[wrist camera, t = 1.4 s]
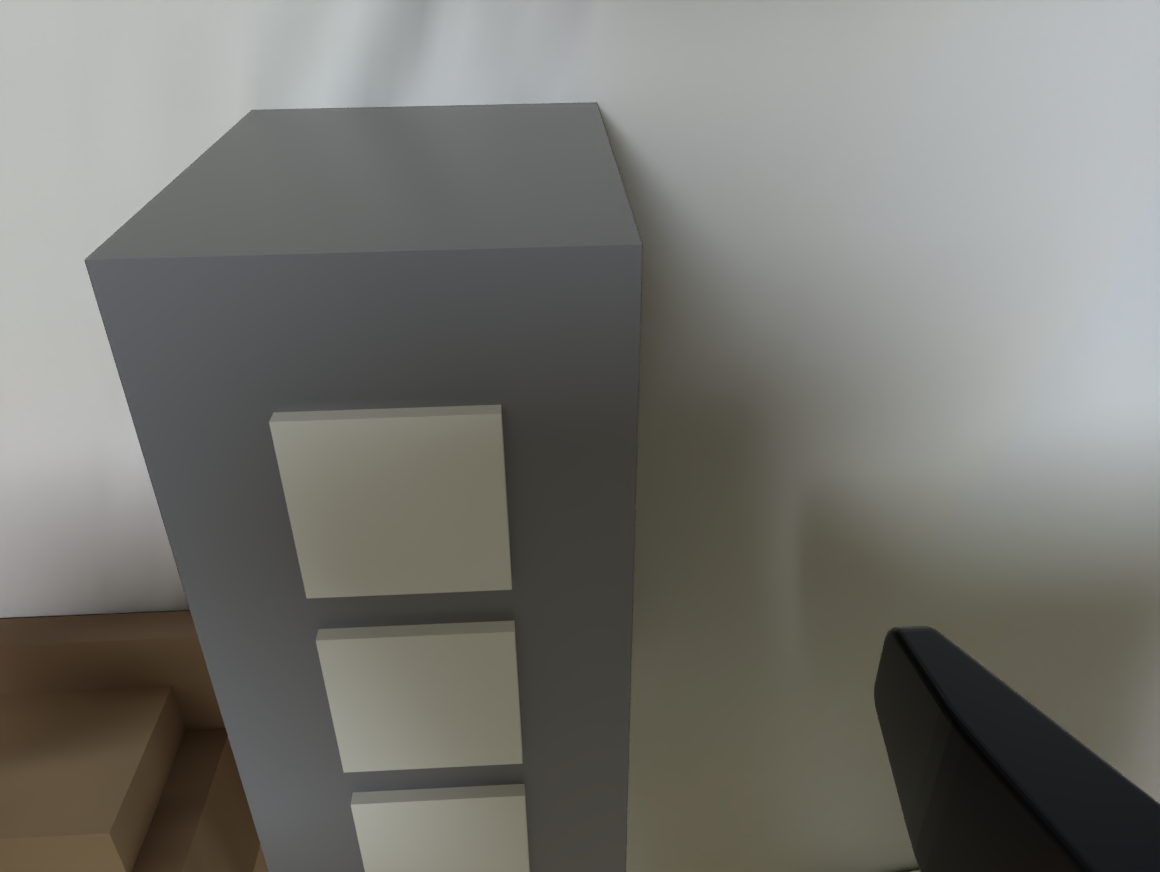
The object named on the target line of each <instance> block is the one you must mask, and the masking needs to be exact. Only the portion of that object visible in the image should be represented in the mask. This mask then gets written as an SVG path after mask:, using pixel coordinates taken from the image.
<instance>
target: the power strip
mask: <svg viewBox="0 0 1160 872" xmlns="http://www.w3.org/2000/svg"><path fill="white" fill-rule="evenodd" d="M85 264H86V267H87V270H88V274H89V277H90V280H91V284H92V287H93V290H94V294H95V297H96V300H97V303H98V307H99V310H100V313H101V317H102V320H103V323H104V327H105V330H106V333H107V337H108V340H109V343H110V347H111V350H112V353H113V357H114V360H115V363H116V367H117V370H118V373H119V376H120V380H121V383H122V386H123V390H124V393H125V396H126V400H127V403H128V406H129V410H130V413H131V416H132V420H133V423H134V426H135V430H136V433H137V436H138V440H139V443H140V446H141V449H142V453H143V456H144V459H145V463H146V466H147V469H148V473H149V476H150V479H151V483H152V486H153V489H154V493H155V496H156V499H157V503H158V506H159V509H160V512H161V516H162V519H163V522H164V526H165V529H166V532H167V536H168V539H169V542H170V546H171V549H172V552H173V556H174V559H175V562H176V566H177V569H178V572H179V576H180V579H181V582H182V585H183V589H184V592H185V595H186V599H187V602H188V605H189V609H190V612H191V615H192V619H193V622H194V625H195V629H196V632H197V635H198V639H199V642H200V645H201V649H202V652H203V655H204V658H205V662H206V665H207V668H208V672H209V675H210V678H211V682H212V685H213V688H214V692H215V695H216V698H217V702H218V705H219V708H220V712H221V715H222V718H223V722H224V725H225V728H226V731H227V735H228V738H229V741H230V745H231V748H232V751H233V755H234V758H235V761H236V765H237V768H238V771H239V775H240V778H241V781H242V785H243V788H244V791H245V794H246V798H247V801H248V804H249V808H250V811H251V814H252V818H253V821H254V824H255V828H256V831H257V834H258V838H259V841H260V844H261V848H262V851H263V854H264V858H265V861H266V864H267V867H268V871H269V872H626V844H627V806H628V769H629V731H630V693H631V656H632V618H633V580H634V543H635V505H636V467H637V430H638V392H639V354H640V317H641V279H642V242H641V239H640V235H639V232H638V229H637V226H636V223H635V220H634V217H633V214H632V211H631V208H630V204H629V201H628V198H627V195H626V192H625V189H624V186H623V183H622V180H621V177H620V174H619V170H618V167H617V164H616V161H615V158H614V155H613V152H612V149H611V146H610V143H609V139H608V136H607V133H606V130H605V127H604V124H603V121H602V118H601V115H600V112H599V109H598V105H597V102H596V103H550V104H504V105H457V106H411V107H365V108H319V109H273V110H251V111H250V112H249V113H248V114H247V115H246V116H245V117H243V118H242V119H241V120H240V121H239V122H238V123H237V124H236V125H235V126H233V127H232V128H231V129H230V130H229V131H228V132H227V133H226V134H224V135H223V136H222V137H221V138H220V139H219V140H218V141H217V142H216V143H214V144H213V145H212V146H211V147H210V148H209V149H208V150H207V151H205V152H204V153H203V154H202V155H201V156H200V157H199V158H198V159H197V160H195V161H194V162H193V163H192V164H191V165H190V166H189V167H188V168H187V169H185V170H184V171H183V172H182V173H181V174H180V175H179V176H178V177H176V178H175V179H174V180H173V181H172V182H171V183H170V184H169V185H168V186H166V187H165V188H164V189H163V190H162V191H161V192H160V193H159V194H158V195H156V196H155V197H154V198H153V199H152V200H151V201H150V202H149V203H147V204H146V205H145V206H144V207H143V208H142V209H141V210H140V211H139V212H137V213H136V214H135V215H134V216H133V217H132V218H131V219H130V220H128V221H127V222H126V223H125V224H124V225H123V226H122V227H121V228H120V229H118V230H117V231H116V232H115V233H114V234H113V235H112V236H111V237H110V238H108V239H107V240H106V241H105V242H104V243H103V244H102V245H101V246H99V247H98V248H97V249H96V250H95V251H94V252H93V253H92V254H91V255H89V256H88V257H87V258H86V259H85Z"/></svg>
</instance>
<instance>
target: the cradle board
mask: <svg viewBox="0 0 1160 872" xmlns="http://www.w3.org/2000/svg"><path fill="white" fill-rule="evenodd" d="M0 872H269V871H268V867H267V864H266V861H265V858H264V854H263V851H262V848H261V844H260V841H259V838H258V834H257V831H256V828H255V824H254V821H253V818H252V814H251V811H250V808H249V804H248V801H247V798H246V794H245V791H244V788H243V785H242V781H241V778H240V775H239V771H238V768H237V765H236V761H235V758H234V755H233V751H232V748H231V745H230V741H229V738H228V735H227V731H226V728H225V725H224V722H223V718H222V715H221V712H220V708H219V705H218V702H217V698H216V695H215V692H214V688H213V685H212V682H211V678H210V675H209V672H208V668H207V665H206V662H205V658H204V655H203V652H202V649H201V645H200V642H199V639H198V635H197V632H196V629H195V625H194V622H193V619H192V615H191V612H190V611H174V612H151V613H128V614H105V615H82V616H59V617H36V618H12V619H0Z"/></svg>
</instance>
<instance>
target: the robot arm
mask: <svg viewBox="0 0 1160 872" xmlns="http://www.w3.org/2000/svg"><path fill="white" fill-rule="evenodd" d="M874 699H875V707H876V711H877V715H878V719H879V723H880V727H881V730H882V734H883V738H884V742H885V746H886V750H887V753H888V757H889V761H890V765H891V769H892V773H893V777H894V780H895V784H896V788H897V792H898V796H899V800H900V803H901V807H902V811H903V815H904V819H905V823H906V826H907V830H908V834H909V837H910V841H911V844H912V848H913V851H914V854H915V857H916V860H917V863H918V866H919V869H920V871H921V872H1160V804H1159V803H1158V802H1157V801H1155V800H1154V799H1153V798H1152V797H1150V796H1149V795H1148V794H1146V793H1145V792H1144V791H1143V790H1141V789H1140V788H1139V787H1137V786H1136V785H1135V784H1134V783H1132V782H1131V781H1130V780H1128V779H1127V778H1126V777H1125V776H1123V775H1122V774H1121V773H1119V772H1118V771H1117V770H1116V769H1114V768H1113V767H1112V766H1110V765H1109V764H1108V763H1107V762H1105V761H1104V760H1103V759H1101V758H1100V757H1099V756H1098V755H1096V754H1095V753H1094V752H1092V751H1091V750H1090V749H1089V748H1087V747H1086V746H1085V745H1083V744H1082V743H1081V742H1080V741H1078V740H1077V739H1076V738H1074V737H1073V736H1072V735H1071V734H1069V733H1068V732H1067V731H1066V730H1064V729H1063V728H1062V727H1060V726H1059V725H1058V724H1057V723H1055V722H1054V721H1053V720H1051V719H1050V718H1049V717H1048V716H1046V715H1045V714H1044V713H1042V712H1041V711H1040V710H1039V709H1037V708H1036V707H1035V706H1033V705H1032V704H1031V703H1030V702H1028V701H1027V700H1026V699H1024V698H1023V697H1022V696H1021V695H1019V694H1018V693H1017V692H1015V691H1014V690H1013V689H1012V688H1010V687H1009V686H1008V685H1006V684H1005V683H1004V682H1003V681H1001V680H1000V679H999V678H997V677H996V676H995V675H994V674H992V673H991V672H990V671H988V670H987V669H986V668H985V667H983V666H982V665H981V664H979V663H978V662H977V661H976V660H974V659H973V658H972V657H971V656H969V655H968V654H967V653H965V652H964V651H963V650H962V649H960V648H959V647H958V646H956V645H955V644H954V643H953V642H951V641H950V640H949V639H947V638H946V637H945V636H944V635H942V634H941V633H940V632H938V631H937V630H935V629H933V628H931V627H928V626H912V627H895V628H892V629H891V630H889V632H888V633H887V635H886V637H885V640H884V645H883V649H882V654H881V658H880V663H879V668H878V672H877V677H876V681H875V687H874Z"/></svg>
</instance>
